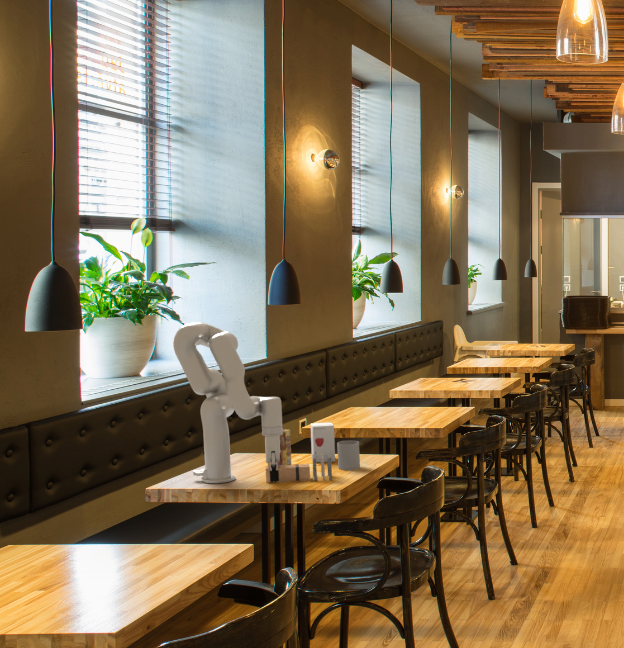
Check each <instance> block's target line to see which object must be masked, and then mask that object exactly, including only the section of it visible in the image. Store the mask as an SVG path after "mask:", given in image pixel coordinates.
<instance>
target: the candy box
mask: <svg viewBox="0 0 624 648" xmlns="http://www.w3.org/2000/svg"><path fill="white" fill-rule="evenodd" d="M291 447H292V446H291V429H283V434H282V435H280V458H279V462H278V466H281V465H292V448H291ZM267 466H270V461H269V462H268V463H267Z"/></svg>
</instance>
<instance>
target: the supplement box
mask: <svg viewBox="0 0 624 648" xmlns="http://www.w3.org/2000/svg"><path fill="white" fill-rule="evenodd" d="M335 442H336V441H335V426H334V424H333V423H332V422H316V423H314V422H313V423H310V443H311V444H310V445H311V446H310V447H311V449H310V450H311V455H312V454H315V456H316V463H321V454H323V457H324V463H327V454H330V456H331V463H332V462H336V447H335V446H336V445H335V444H336V443H335ZM311 460H312V461H313V457H312V456H311Z"/></svg>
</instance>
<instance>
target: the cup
mask: <svg viewBox="0 0 624 648" xmlns="http://www.w3.org/2000/svg"><path fill="white" fill-rule="evenodd" d="M336 447H337V449H336V450H337V466H338V467H337V468H338V469H339V470H340V469H341V471H355V470H354V469H356V470H359V469H360V468H361V462H360V461H361V460H360V458H361V457H360V441H358V440H341V441H338V442H337V443H336ZM358 468H359V469H358Z"/></svg>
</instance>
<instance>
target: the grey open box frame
mask: <svg viewBox="0 0 624 648" xmlns="http://www.w3.org/2000/svg"><path fill="white" fill-rule="evenodd" d="M312 457H313V460H312V477H313V481H314V482H317V481H318V473H317V471H318V470H317V468H318V467H317V462H316V456H315V454H312V453H311V458H312ZM326 464H327V477H328V479H329V481H332V480H333V471H332V469H333V468H332V467H333V466H332V462H331V456H330V454H327V462H326ZM320 469H321V471H320V472H321V473H320V474H321V477H322V481H323V482H324V481H326V475H325V474H326V473H325V472H326V471H325V462H324V457H323V454H321V462H320Z"/></svg>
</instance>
